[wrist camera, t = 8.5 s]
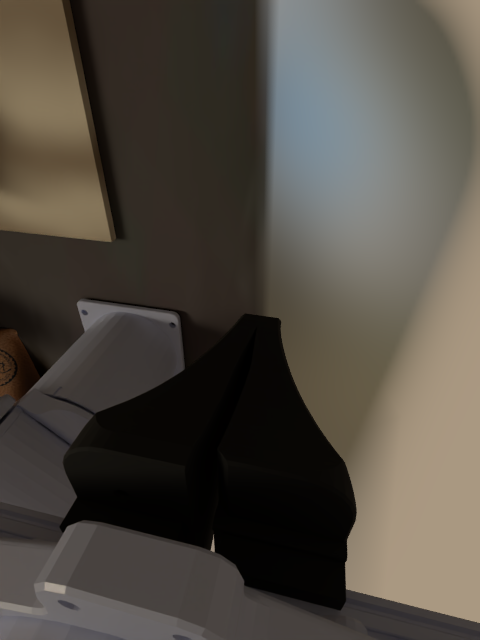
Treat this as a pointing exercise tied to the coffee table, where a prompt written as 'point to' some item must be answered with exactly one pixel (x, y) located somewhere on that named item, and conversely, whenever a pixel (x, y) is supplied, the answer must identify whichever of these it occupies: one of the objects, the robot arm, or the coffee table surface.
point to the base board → (47, 127)
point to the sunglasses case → (15, 366)
